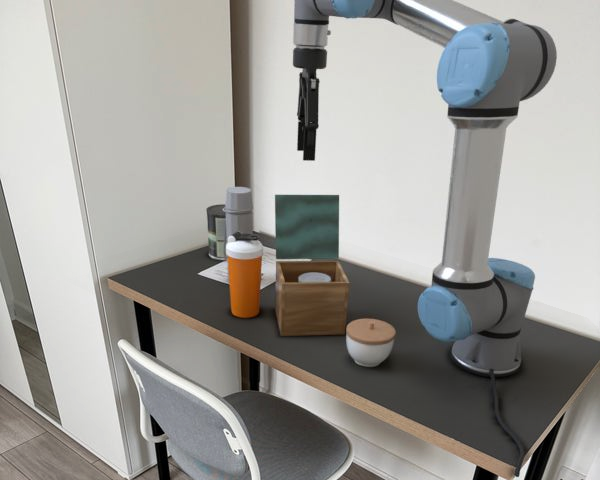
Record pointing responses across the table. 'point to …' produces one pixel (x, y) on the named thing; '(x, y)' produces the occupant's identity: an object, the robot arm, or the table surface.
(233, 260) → the shaker bottle
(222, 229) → the coffee can
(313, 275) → the canned food
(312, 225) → the chest lid
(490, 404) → the table surface
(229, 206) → the water bottle
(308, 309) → the chest
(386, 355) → the trinket box
